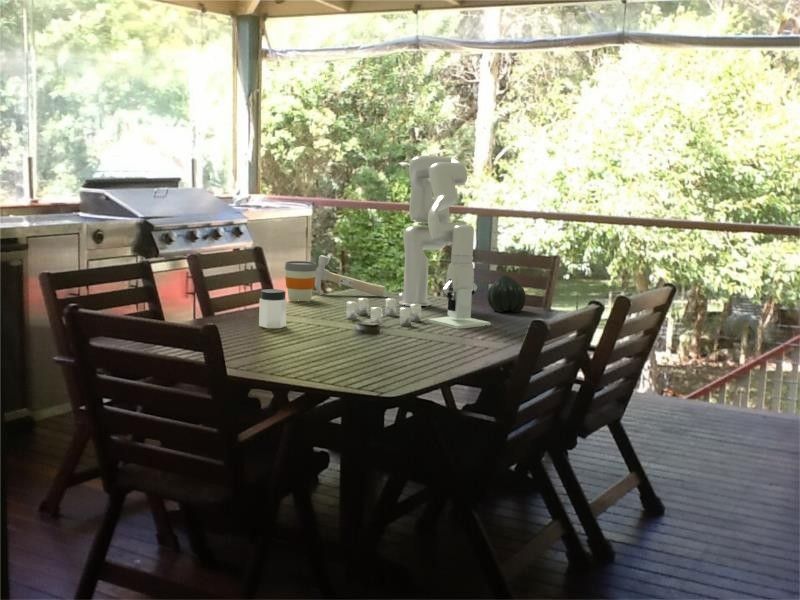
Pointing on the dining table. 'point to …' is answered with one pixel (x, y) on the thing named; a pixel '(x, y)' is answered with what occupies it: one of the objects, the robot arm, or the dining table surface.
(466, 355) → the dining table surface
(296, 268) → the reusable coffee cup
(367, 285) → the hammer
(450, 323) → the pad
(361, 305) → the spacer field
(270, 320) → the jar
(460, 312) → the small box
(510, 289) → the squash
